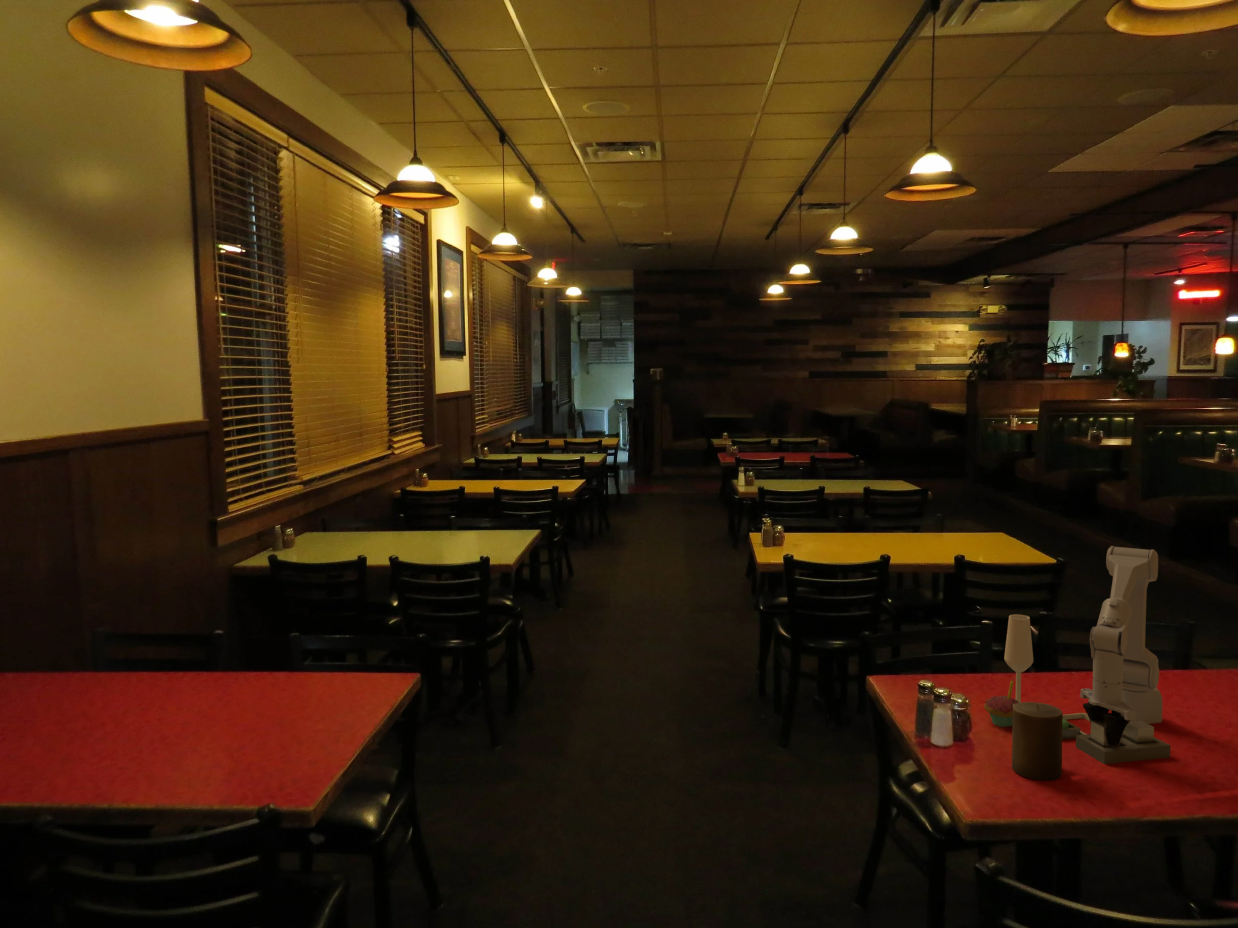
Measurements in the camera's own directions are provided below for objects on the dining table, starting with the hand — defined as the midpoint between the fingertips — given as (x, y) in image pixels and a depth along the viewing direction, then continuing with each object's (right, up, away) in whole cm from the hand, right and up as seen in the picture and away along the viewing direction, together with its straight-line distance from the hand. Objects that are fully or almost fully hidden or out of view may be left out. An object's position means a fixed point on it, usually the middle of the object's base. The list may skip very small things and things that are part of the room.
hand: (1106, 739), depth 188 cm
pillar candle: (-18, -5, -6) cm, 20 cm away
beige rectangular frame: (+3, -3, +14) cm, 15 cm away
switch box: (-4, -3, +12) cm, 13 cm away
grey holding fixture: (+4, -4, +1) cm, 6 cm away
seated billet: (+8, -3, +1) cm, 9 cm away
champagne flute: (-6, -2, +30) cm, 30 cm away
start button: (-4, -3, +12) cm, 13 cm away
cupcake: (-14, -3, +19) cm, 24 cm away
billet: (0, -2, 0) cm, 2 cm away
